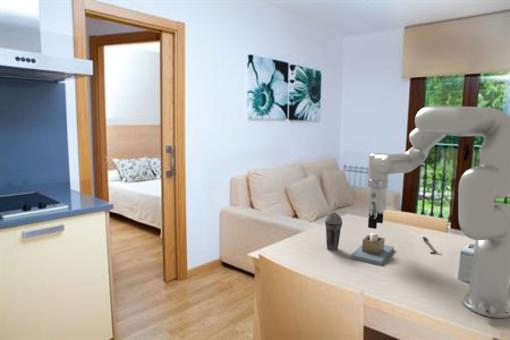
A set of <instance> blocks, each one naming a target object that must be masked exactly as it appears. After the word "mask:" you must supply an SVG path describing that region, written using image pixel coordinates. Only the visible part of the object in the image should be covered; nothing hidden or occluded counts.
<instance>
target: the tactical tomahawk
mask: <svg viewBox="0 0 510 340" xmlns="http://www.w3.org/2000/svg"><path fill="white" fill-rule="evenodd" d="M422 239H423V242H424V243H425V244H426V245H427V246H428V247H429V248H430V250H431V251H430V252H429V253H430V254H431V255H436V256H437V255H438V256H439V255H440V256H443V254H442V253H438V251H437V250H436V249H435V248H434V247H433V245H432V244H431V242H430V241H429V240H428V238H427V237H426V236H422Z"/></svg>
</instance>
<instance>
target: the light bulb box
mask: <svg viewBox="0 0 510 340" xmlns="http://www.w3.org/2000/svg"><path fill="white" fill-rule="evenodd" d="M474 246H475V243H474V244H473V243H469V242H466V243H465V245H464V246H463V247H462V249H460V251H459V252H460V253H459V254H460V255H459V261H458V263H459V264H458V272H457V280H460V281H463V282H465V283H466V282H467V283H470V280H471V271H472V262H473V253H474Z"/></svg>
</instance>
